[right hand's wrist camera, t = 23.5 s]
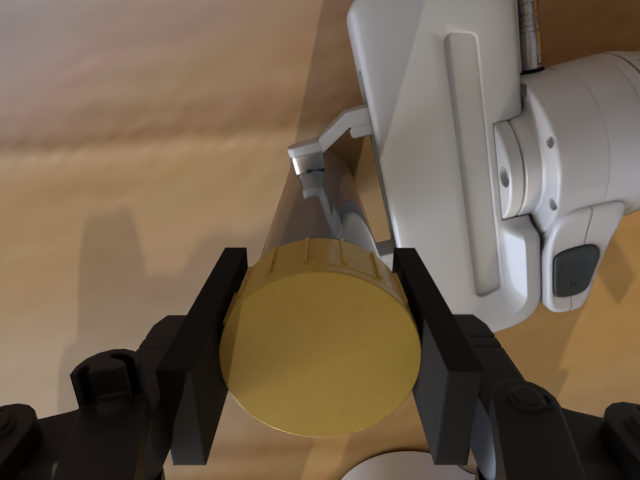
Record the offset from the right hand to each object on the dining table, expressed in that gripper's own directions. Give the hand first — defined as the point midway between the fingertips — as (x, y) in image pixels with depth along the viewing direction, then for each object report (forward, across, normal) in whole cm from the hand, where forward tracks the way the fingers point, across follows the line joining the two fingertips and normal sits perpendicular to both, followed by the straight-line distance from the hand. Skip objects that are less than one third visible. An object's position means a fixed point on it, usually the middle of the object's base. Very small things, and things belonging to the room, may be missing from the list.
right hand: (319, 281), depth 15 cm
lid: (-4, 0, 0) cm, 4 cm away
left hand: (+9, -1, 0) cm, 9 cm away
